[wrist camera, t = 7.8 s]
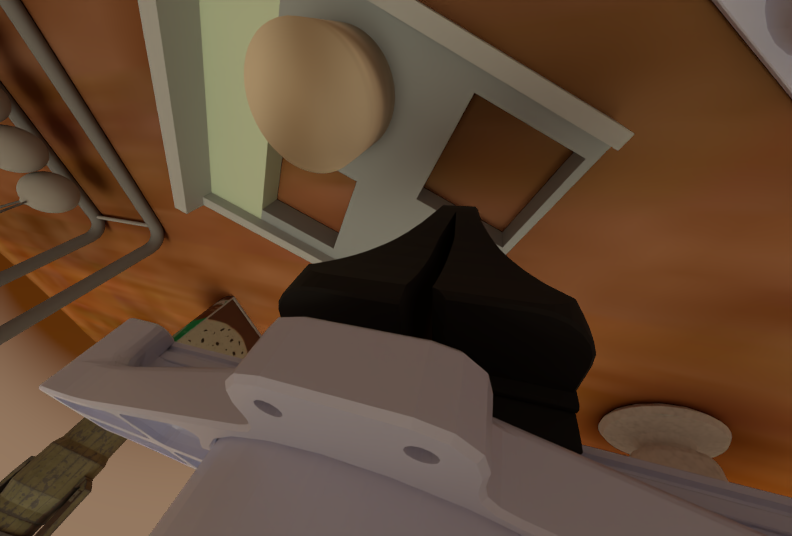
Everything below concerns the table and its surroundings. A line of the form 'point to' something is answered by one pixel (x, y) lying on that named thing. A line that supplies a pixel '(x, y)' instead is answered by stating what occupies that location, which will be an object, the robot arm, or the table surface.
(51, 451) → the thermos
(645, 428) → the table lamp
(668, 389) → the table surface
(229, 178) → the trap board
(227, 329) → the food container
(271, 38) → the beige rounded dome
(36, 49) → the newton's cradle
